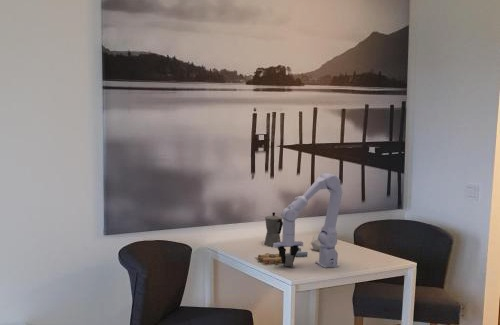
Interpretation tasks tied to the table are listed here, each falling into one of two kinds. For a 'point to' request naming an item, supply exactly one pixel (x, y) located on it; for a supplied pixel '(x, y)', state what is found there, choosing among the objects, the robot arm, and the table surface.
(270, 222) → the coffeepot
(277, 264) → the thin square base plate
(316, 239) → the grey faceted polyhedron
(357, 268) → the table surface
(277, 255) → the sprocket
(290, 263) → the dark grey block
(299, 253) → the seat
